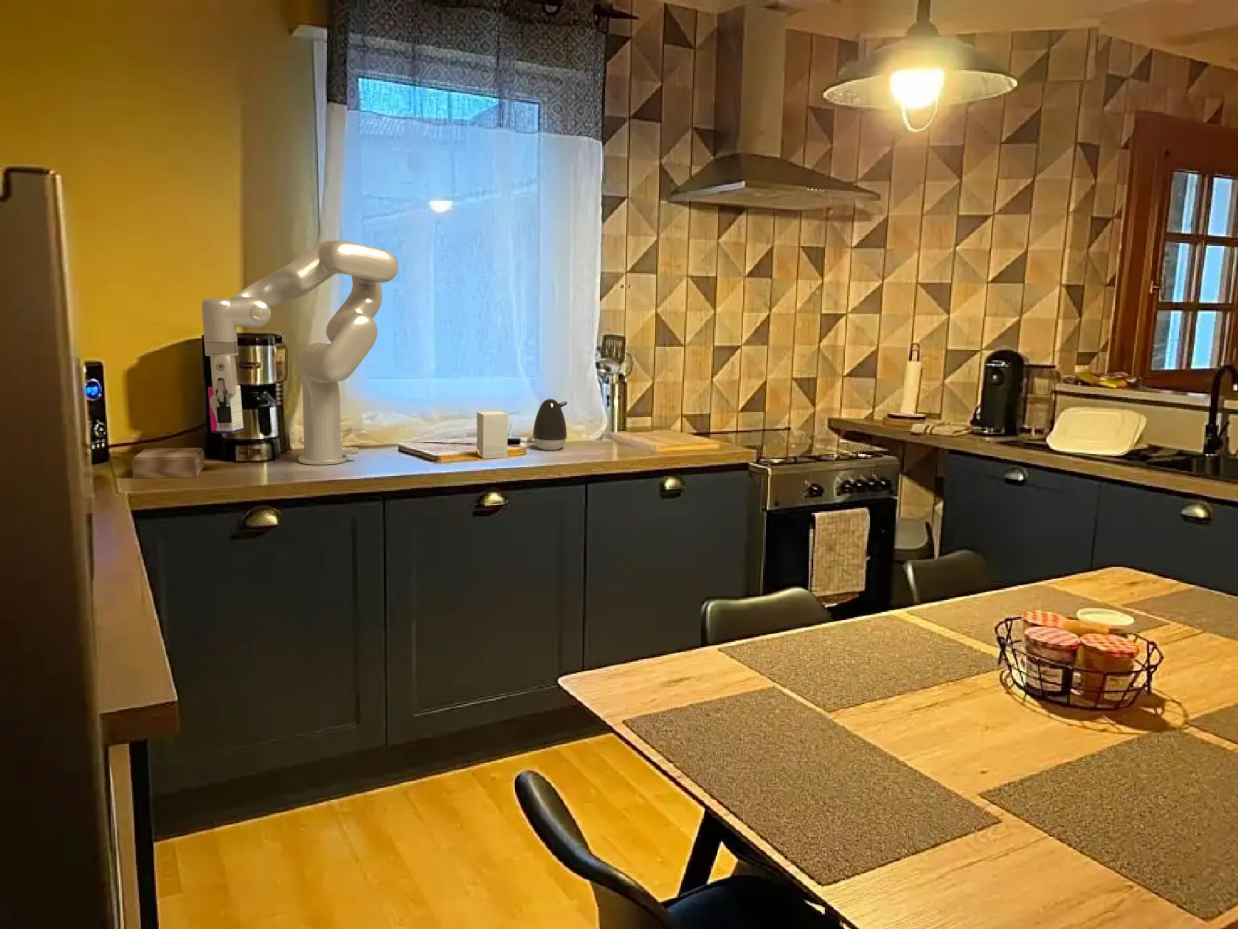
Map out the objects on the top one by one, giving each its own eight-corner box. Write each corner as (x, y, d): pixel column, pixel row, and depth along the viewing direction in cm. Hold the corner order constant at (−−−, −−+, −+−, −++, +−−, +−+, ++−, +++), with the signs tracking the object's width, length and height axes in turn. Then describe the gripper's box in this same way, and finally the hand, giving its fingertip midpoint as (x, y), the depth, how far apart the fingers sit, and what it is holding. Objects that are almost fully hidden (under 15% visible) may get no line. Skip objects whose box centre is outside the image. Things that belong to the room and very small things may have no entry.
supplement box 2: (508, 458, 273) (508, 413, 271) (482, 459, 271) (482, 414, 269) (501, 454, 280) (501, 410, 278) (476, 454, 277) (476, 411, 275)
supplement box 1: (244, 429, 244) (241, 384, 242) (232, 433, 239) (229, 387, 236) (222, 429, 245) (218, 384, 243) (210, 433, 239) (206, 387, 237)
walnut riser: (204, 466, 248) (203, 447, 247) (196, 477, 235) (195, 456, 234) (144, 467, 244) (143, 448, 243) (132, 478, 231) (131, 457, 230)
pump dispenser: (572, 451, 289) (573, 400, 286) (539, 452, 284) (540, 401, 282) (559, 445, 298) (560, 396, 295) (527, 447, 293) (528, 397, 291)
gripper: (233, 351, 231) (238, 425, 234) (241, 346, 247) (246, 415, 250) (199, 352, 229) (205, 426, 232) (209, 346, 245) (215, 416, 248)
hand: (226, 420), depth 241 cm, fingers closed on supplement box 1, 7 cm apart
